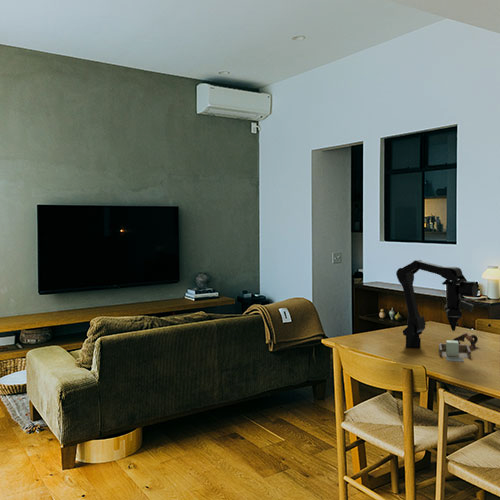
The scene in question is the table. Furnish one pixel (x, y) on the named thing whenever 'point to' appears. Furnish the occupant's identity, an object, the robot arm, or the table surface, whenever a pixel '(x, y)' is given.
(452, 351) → the sage block
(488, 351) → the table surface
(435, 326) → the table surface
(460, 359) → the slate tile
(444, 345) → the walnut crate
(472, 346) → the pottery mug
